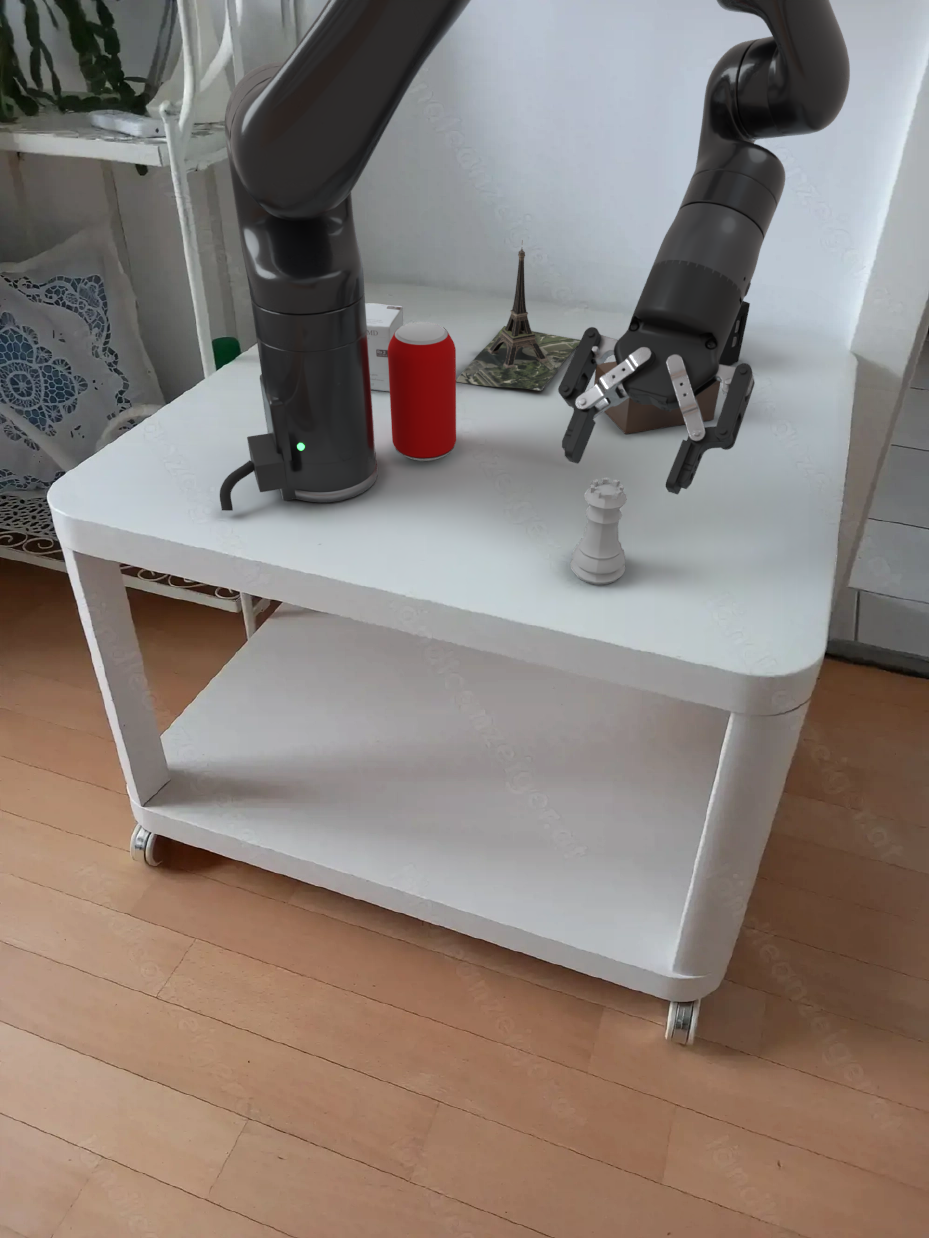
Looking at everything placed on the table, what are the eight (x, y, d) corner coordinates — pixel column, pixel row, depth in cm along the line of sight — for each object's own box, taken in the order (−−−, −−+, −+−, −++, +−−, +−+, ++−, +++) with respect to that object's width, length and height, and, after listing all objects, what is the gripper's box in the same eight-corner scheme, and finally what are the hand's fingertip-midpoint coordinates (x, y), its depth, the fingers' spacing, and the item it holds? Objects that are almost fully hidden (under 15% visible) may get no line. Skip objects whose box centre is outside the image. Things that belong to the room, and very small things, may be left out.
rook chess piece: (622, 590, 74) (634, 505, 69) (566, 583, 75) (574, 498, 70) (626, 557, 78) (638, 474, 72) (573, 551, 78) (580, 468, 73)
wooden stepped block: (625, 434, 94) (631, 383, 90) (592, 399, 100) (597, 350, 96) (713, 419, 96) (723, 369, 93) (676, 386, 102) (684, 337, 98)
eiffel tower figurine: (542, 397, 100) (550, 271, 91) (454, 381, 103) (454, 257, 94) (581, 343, 111) (592, 226, 102) (501, 330, 113) (504, 215, 105)
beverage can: (413, 473, 88) (409, 351, 80) (381, 445, 92) (374, 327, 84) (468, 455, 90) (469, 335, 83) (434, 429, 94) (431, 312, 87)
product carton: (338, 388, 101) (332, 321, 97) (353, 364, 106) (348, 300, 101) (393, 392, 101) (390, 326, 96) (406, 368, 105) (403, 304, 100)
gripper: (603, 241, 72) (524, 435, 72) (785, 276, 67) (700, 487, 66) (624, 287, 79) (552, 465, 79) (791, 323, 73) (714, 514, 73)
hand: (620, 475), depth 73 cm, fingers open, 8 cm apart
